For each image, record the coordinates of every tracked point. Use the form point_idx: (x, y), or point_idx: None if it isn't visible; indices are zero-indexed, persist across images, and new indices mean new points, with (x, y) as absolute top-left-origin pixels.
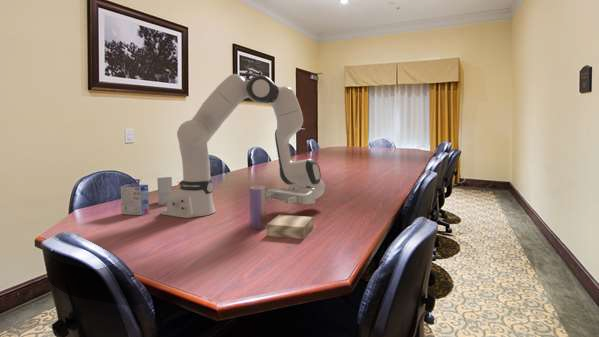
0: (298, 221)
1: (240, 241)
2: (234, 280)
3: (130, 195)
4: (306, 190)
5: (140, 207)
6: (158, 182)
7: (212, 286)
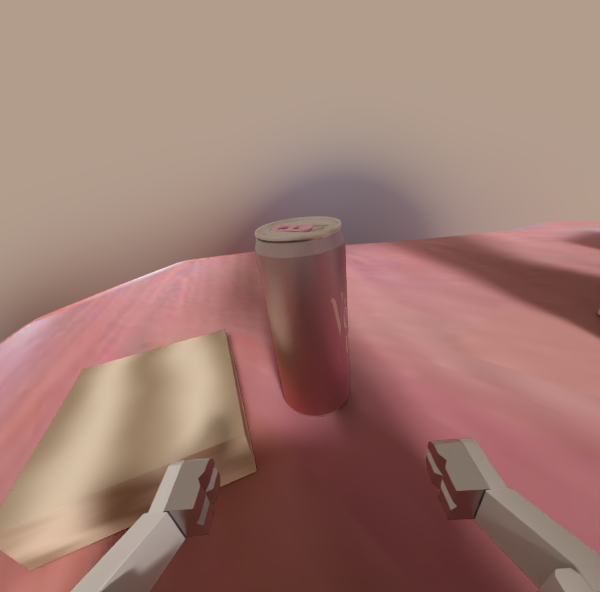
0: (106, 405)
1: None
2: (192, 273)
3: None
4: None
5: None
6: None
7: (208, 264)
